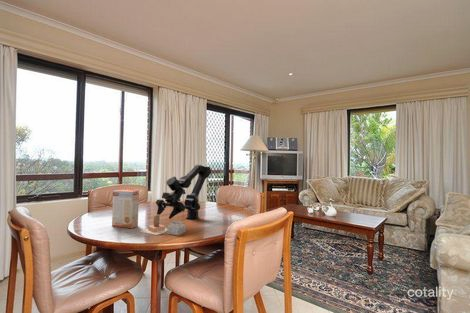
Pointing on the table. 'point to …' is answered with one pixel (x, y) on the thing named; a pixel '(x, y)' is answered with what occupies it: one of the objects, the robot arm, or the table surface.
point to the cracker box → (125, 208)
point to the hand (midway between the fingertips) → (163, 217)
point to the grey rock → (176, 228)
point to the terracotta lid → (156, 225)
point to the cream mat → (153, 232)
